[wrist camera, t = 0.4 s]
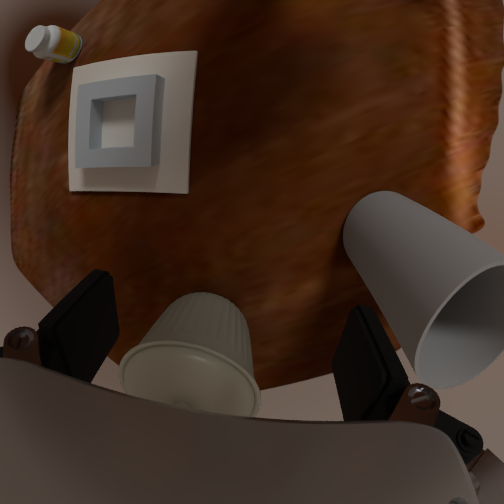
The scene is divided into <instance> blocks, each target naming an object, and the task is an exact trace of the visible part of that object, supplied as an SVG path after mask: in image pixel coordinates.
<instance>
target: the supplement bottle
mask: <svg viewBox="0 0 504 504" xmlns="http://www.w3.org/2000/svg"><path fill="white" fill-rule="evenodd" d="M81 47H82V39H81V37H80V36H79V35H77V34H75V33H73V32H70V31H68V30H65V29H63V28H60V27H58V26H54V25H51V26H48V27H45V26H37V27H35V28H34V29H32V31H31V32H30V33H29V35H28V36H27V38H26V42H25V48H26V50H27V51H31V52H33V54H34V55H35V56H36V57H37V58H41V59H45V60H49V61H54V62H58V63H63V64H65V63H69V62H71V61H72V60H74V59H75V58H76V57H77V55H78V54H79V52H80V50H81Z"/></svg>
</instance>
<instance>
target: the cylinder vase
mask: <svg viewBox="0 0 504 504" xmlns="http://www.w3.org/2000/svg"><path fill="white" fill-rule="evenodd" d="M343 243H344V248H345V251H346V253H347V255H348V257H349V259H350V260H351V262H352V263H353V265H354V266H355V268H356V270H357V271H358V273H359V274H360V276H361V278H362V279H363V281H364V283H365V284H366V286H367V288H368V289H369V291H370V293H371V294H372V296H373V298H374V299H375V301H376V303H377V304H378V306H379V308H380V309H381V311H382V313H383V315H384V316H385V318H386V320H387V322H388V323H389V325H390V327H391V329H392V331H393V332H394V334H395V336H396V338H397V340H398V342H399V343H400V345H401V347H402V349H403V351H404V353H405V355H406V356H407V358H408V360H409V362H410V364H411V366H412V368H413V370H414V372H415V374H416V376H417V378H418V379H419V381H420V382H421V383H422V384H424V385H427V386H429V387H431V388H432V389H447V388H452V387H455V386H458V385H461V384H463V383H466V382H468V381H469V380H471V379H473V378H474V377H476V376H477V375H479V374H481V373H482V372H483V371H485V370H486V369H487V368H488V367H489V366H490V365H492V364H493V363H494V362H495V361H496V360H497V359H498V357H499V356H500V355H501V354H502V353H503V352H504V255H503V254H502V253H500V252H499V251H497V250H495V249H494V248H493V247H491V246H490V245H488V244H486V243H485V242H483V241H482V240H480V239H479V238H477V237H475V236H474V235H472V234H471V233H469V232H467V231H466V230H464V229H462V228H461V227H459V226H457V225H456V224H454V223H452V222H451V221H449V220H447V219H445V218H444V217H442V216H440V215H438V214H436V213H435V212H433V211H431V210H429V209H427V208H425V207H424V206H422V205H420V204H418V203H416V202H414V201H412V200H410V199H408V198H406V197H404V196H402V195H400V194H398V193H395V192H391V191H380V192H375V193H372V194H370V195H368V196H366V197H364V198H363V199H361V200H360V201H359V202H358V203H357V204H356V205H355V206H354V207H353V208H352V210H351V211H350V213H349V215H348V217H347V219H346V221H345V225H344V229H343Z"/></svg>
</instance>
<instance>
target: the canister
mask: <svg viewBox="0 0 504 504" xmlns="http://www.w3.org/2000/svg"><path fill="white" fill-rule="evenodd" d="M119 380H120V383H121V386H122V388H123V390H124V392H125V394H128V395H132V396H136V397H140V398H144V399H148V400H152V401H157V402H161V403H165V404H170V405H175V406H180V407H185V408H191V409H196V410H202V411H208V412H215V413H222V414H229V415H237V416H246V417H255V416H256V414H257V413H258V411H259V408H260V405H261V394H260V390H259V387H258V385H257V383H256V381H255V380H254V371H253V360H252V351H251V342H250V335H249V329H248V326H247V322H246V319H245V318H244V316H243V314H242V313H241V312H240V310H239V308H237V307H236V306H235V305H234V303H231V302H230V301H229V300H228V299H225V298H224V297H223V296H219V295H217V294H212V293H206V292H195V293H189V294H188V295H184V296H182V297H181V298H178V299H176V300H175V301H174V302H173V303H171V304H170V305H169V307H168V308H167V309H166V310H165V311H164V313H163V314H162V315H161V316H160V317H159V319H158V320H157V321H156V322H155V323H154V325H153V326H152V327H151V329H150V330H149V331H148V333H147V334H146V335H145V337H144V338H143V339H142V340H141V342H140V343H139V344H138V345H137V346H135V347H133V348H132V349H130V350H129V351H128V352H127V353H126V354H125V355H124V357H123V358H122V360H121V362H120V365H119Z"/></svg>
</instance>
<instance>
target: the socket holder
mask: <svg viewBox="0 0 504 504" xmlns="http://www.w3.org/2000/svg"><path fill="white" fill-rule="evenodd" d="M197 59H198V51H180V52H166V53H156V54H147V55H139V56H131V57H125V58H119V59H113V60H107V61H102V62H97V63H92V64H88V65H83V66H79V67H75V68H74V70H73V78H72V87H71V98H70V113H69V141H68V158H69V187H70V191H127V192H159V193H182V194H188V193H189V172H190V149H191V131H192V115H193V102H194V90H195V79H196V68H197Z"/></svg>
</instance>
